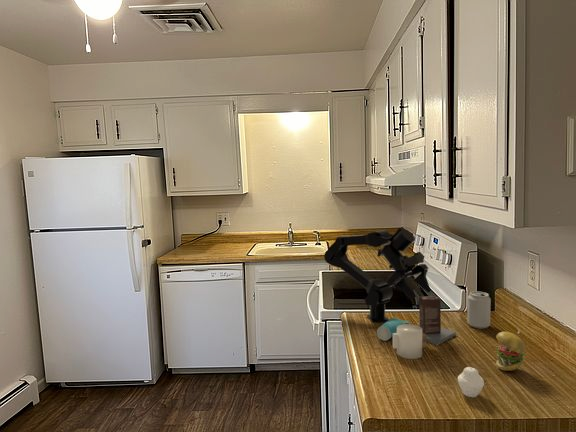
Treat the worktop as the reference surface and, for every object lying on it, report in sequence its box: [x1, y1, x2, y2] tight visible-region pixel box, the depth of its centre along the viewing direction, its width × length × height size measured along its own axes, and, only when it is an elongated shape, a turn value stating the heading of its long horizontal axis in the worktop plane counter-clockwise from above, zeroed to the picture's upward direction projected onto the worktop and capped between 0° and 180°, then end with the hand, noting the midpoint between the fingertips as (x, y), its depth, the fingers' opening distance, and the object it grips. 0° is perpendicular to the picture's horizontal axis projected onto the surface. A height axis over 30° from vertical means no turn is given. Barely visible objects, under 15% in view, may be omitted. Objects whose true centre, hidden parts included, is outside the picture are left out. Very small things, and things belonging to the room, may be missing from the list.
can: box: [466, 290, 492, 330], centre depth 149 cm, size 8×8×12 cm
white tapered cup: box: [392, 323, 423, 360], centre depth 127 cm, size 9×8×8 cm
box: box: [418, 295, 442, 334], centre depth 141 cm, size 6×4×12 cm
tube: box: [376, 317, 411, 342], centre depth 145 cm, size 7×5×19 cm
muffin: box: [457, 366, 485, 398], centre depth 104 cm, size 6×6×7 cm
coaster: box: [417, 324, 457, 346], centre depth 142 cm, size 12×12×1 cm
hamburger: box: [495, 329, 526, 372], centre depth 116 cm, size 8×7×12 cm
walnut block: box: [422, 333, 428, 349], centre depth 133 cm, size 4×4×4 cm
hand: (422, 294), depth 143 cm, fingers open, 9 cm apart
